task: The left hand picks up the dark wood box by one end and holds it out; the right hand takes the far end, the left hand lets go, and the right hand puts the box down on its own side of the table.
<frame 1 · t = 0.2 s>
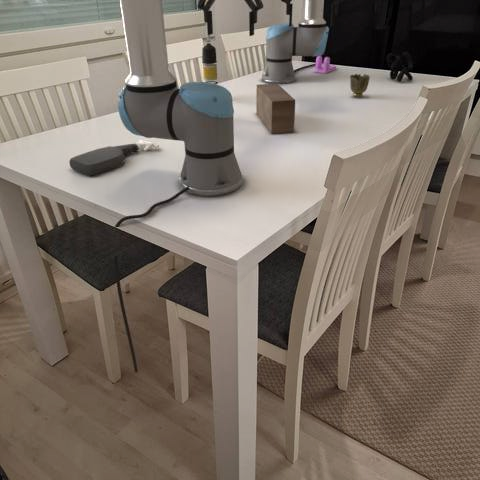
left hand: (230, 34, 139), 27 cm above the table, tool pointing down, fingers open, 13 cm apart
right hand: (311, 26, 147), 28 cm above the table, tool pointing down, fingers open, 13 cm apart
bracket: (326, 70, 221), on the table
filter: (211, 98, 179), on the table
squiggle: (399, 80, 200), on the table
box: (274, 122, 151), on the table
spray bottle: (117, 159, 125), on the table
cup: (357, 97, 177), on the table
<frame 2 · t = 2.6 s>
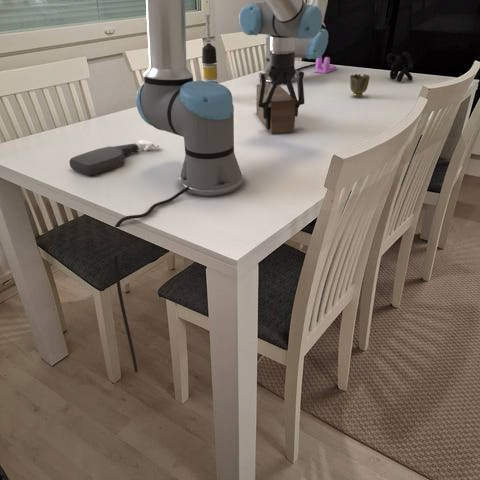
left hand: (280, 127, 144), 1 cm above the table, tool pointing down, fingers closed on box, 7 cm apart
box: (274, 122, 151), on the table, touching left hand
everything else where it was.
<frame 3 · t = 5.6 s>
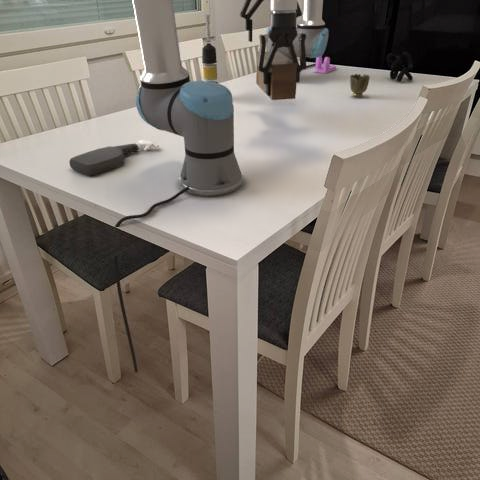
left hand: (280, 93, 138), 11 cm above the table, tool pointing down, fingers closed on box, 7 cm apart
right hand: (270, 40, 149), 24 cm above the table, tool pointing down, fingers open, 13 cm apart
box: (274, 90, 145), point 11 cm above the table, touching left hand
everything else where it was.
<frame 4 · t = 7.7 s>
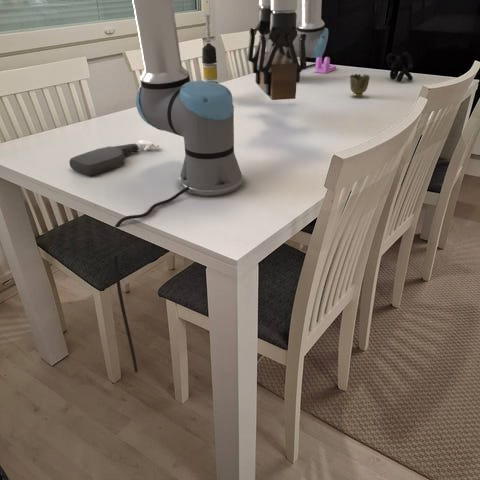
left hand: (280, 93, 138), 11 cm above the table, tool pointing down, fingers closed on box, 7 cm apart
right hand: (269, 82, 152), 12 cm above the table, tool pointing down, fingers closed on box, 7 cm apart
box: (274, 90, 145), point 11 cm above the table, touching left hand, right hand
everything else where it was.
when the left hand's fingers open (11 cm above the table, at t = 8.6 s): box stays where it is, held by the right hand.
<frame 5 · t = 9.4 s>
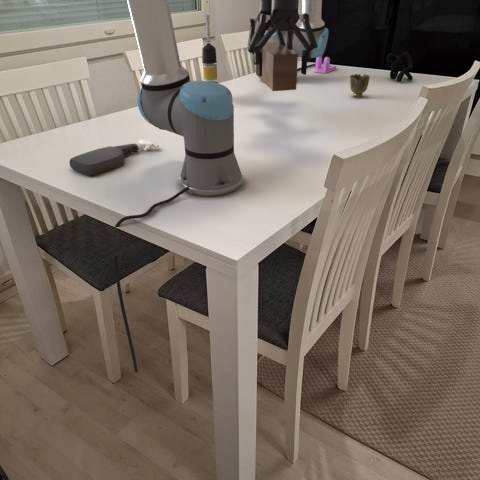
left hand: (281, 74, 134), 18 cm above the table, tool pointing down, fingers open, 13 cm apart
right hand: (269, 73, 150), 14 cm above the table, tool pointing down, fingers closed on box, 7 cm apart
box: (275, 82, 144), point 13 cm above the table, touching right hand
everything else where it was.
when the right hand's fingers open (2 cm above the table, at t = 12.5 s): box drops 1 cm, on the table.
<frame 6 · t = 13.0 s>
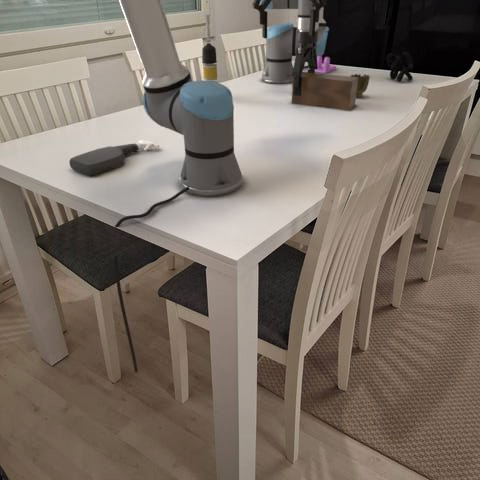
left hand: (288, 36, 124), 28 cm above the table, tool pointing down, fingers open, 13 cm apart
right hand: (304, 91, 171), 4 cm above the table, tool pointing down, fingers open, 13 cm apart
box: (322, 104, 169), on the table
everything else where it was.
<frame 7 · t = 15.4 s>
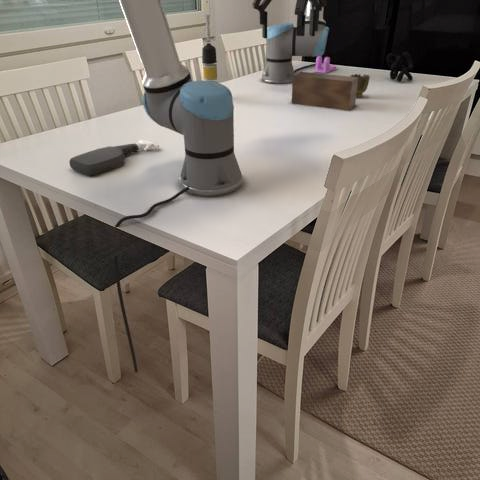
left hand: (288, 36, 124), 28 cm above the table, tool pointing down, fingers open, 13 cm apart
right hand: (307, 33, 160), 24 cm above the table, tool pointing down, fingers open, 13 cm apart
nothing on the table moved.
at the end: box inside the target area (8.0 cm from its centre), on the table; the left hand is holding nothing; the right hand is holding nothing; box at rest at the end (0.0 cm/s) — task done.
